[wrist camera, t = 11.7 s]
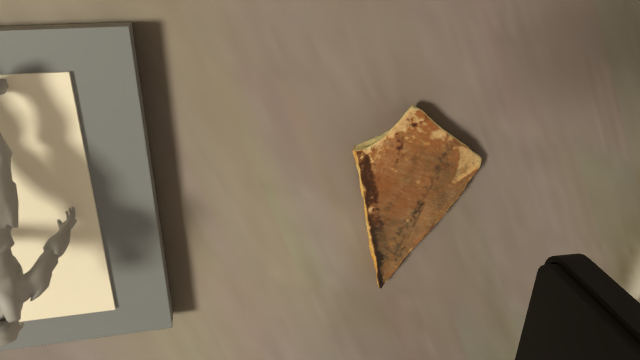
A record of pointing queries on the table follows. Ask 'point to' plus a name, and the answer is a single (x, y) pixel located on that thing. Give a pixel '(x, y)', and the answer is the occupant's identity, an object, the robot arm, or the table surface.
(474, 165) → the shard
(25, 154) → the base plate
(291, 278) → the table surface
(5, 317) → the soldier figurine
